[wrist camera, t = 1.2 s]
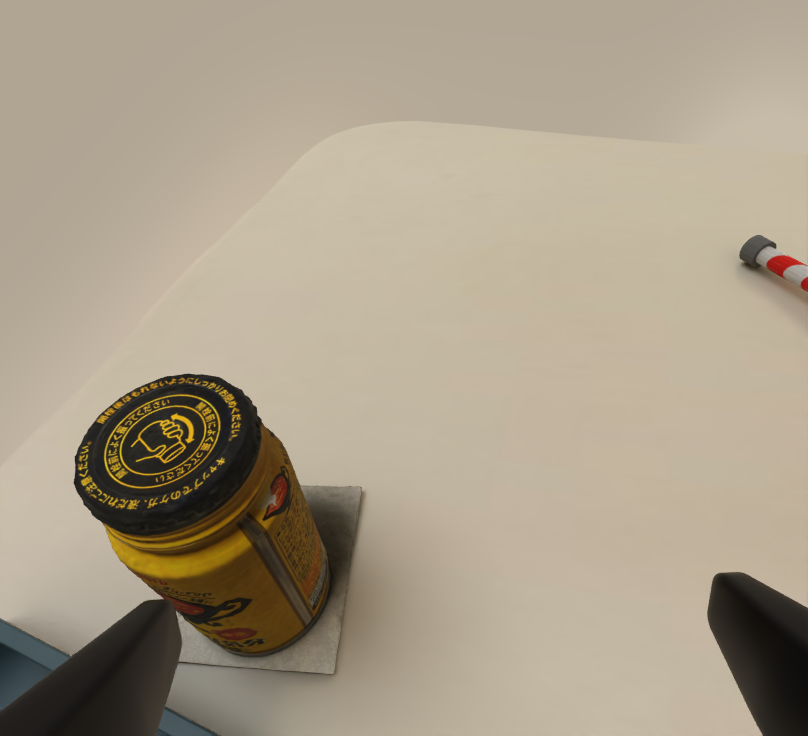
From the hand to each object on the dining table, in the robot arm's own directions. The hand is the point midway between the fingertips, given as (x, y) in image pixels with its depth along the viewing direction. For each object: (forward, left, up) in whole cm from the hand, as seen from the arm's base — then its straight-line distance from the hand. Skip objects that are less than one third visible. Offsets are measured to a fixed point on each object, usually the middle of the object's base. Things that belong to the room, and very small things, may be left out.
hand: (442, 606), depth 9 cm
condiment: (+3, +9, -15) cm, 18 cm away
